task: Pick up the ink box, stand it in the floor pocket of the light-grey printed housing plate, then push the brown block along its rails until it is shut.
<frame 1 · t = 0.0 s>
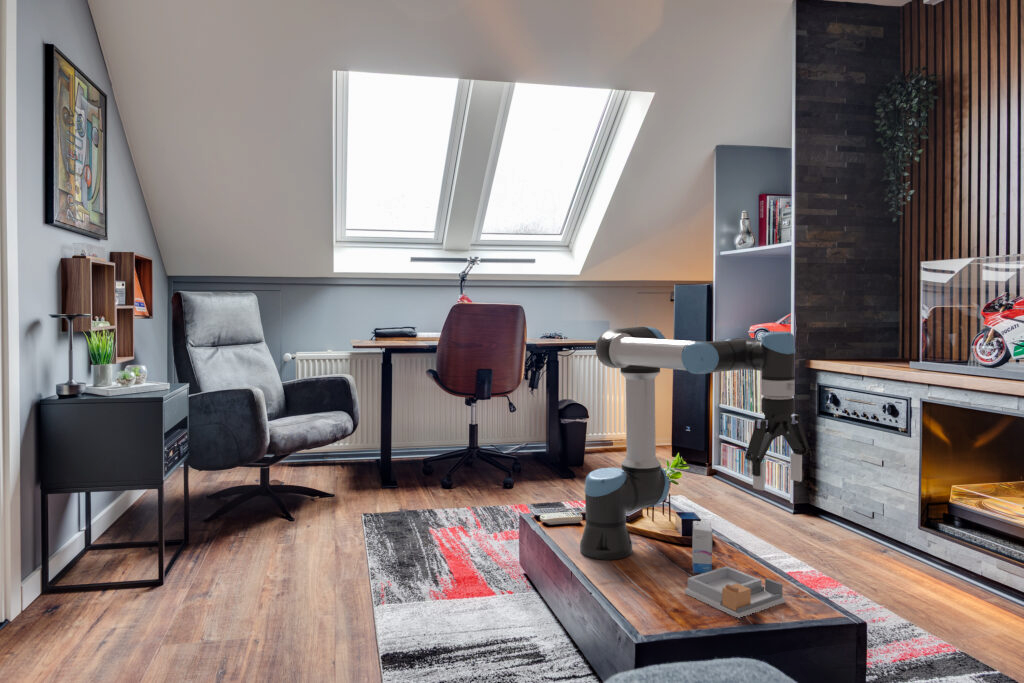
hand: (777, 484, 173), 28 cm above the table, fingers open, 13 cm apart
brown block: (736, 595, 168), point 4 cm above the table, slide at 0.0 cm
housing: (734, 597, 175), on the table
ink box: (702, 568, 195), on the table
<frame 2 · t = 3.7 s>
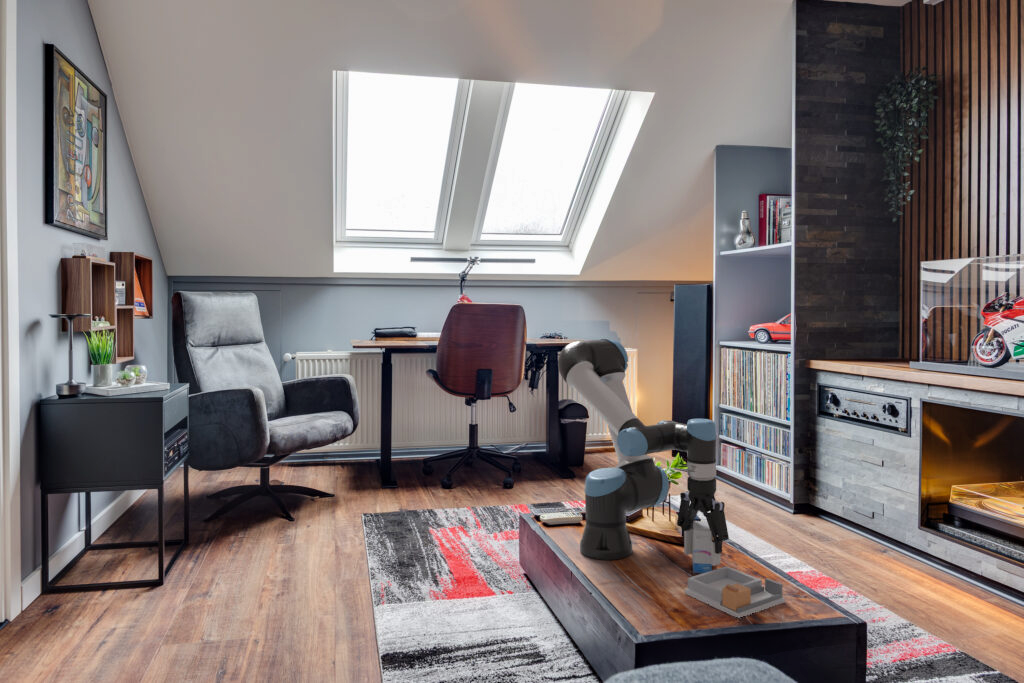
hand: (702, 558, 195), 3 cm above the table, fingers closed on ink box, 9 cm apart
ink box: (702, 568, 195), on the table, touching gripper
everything else where it was.
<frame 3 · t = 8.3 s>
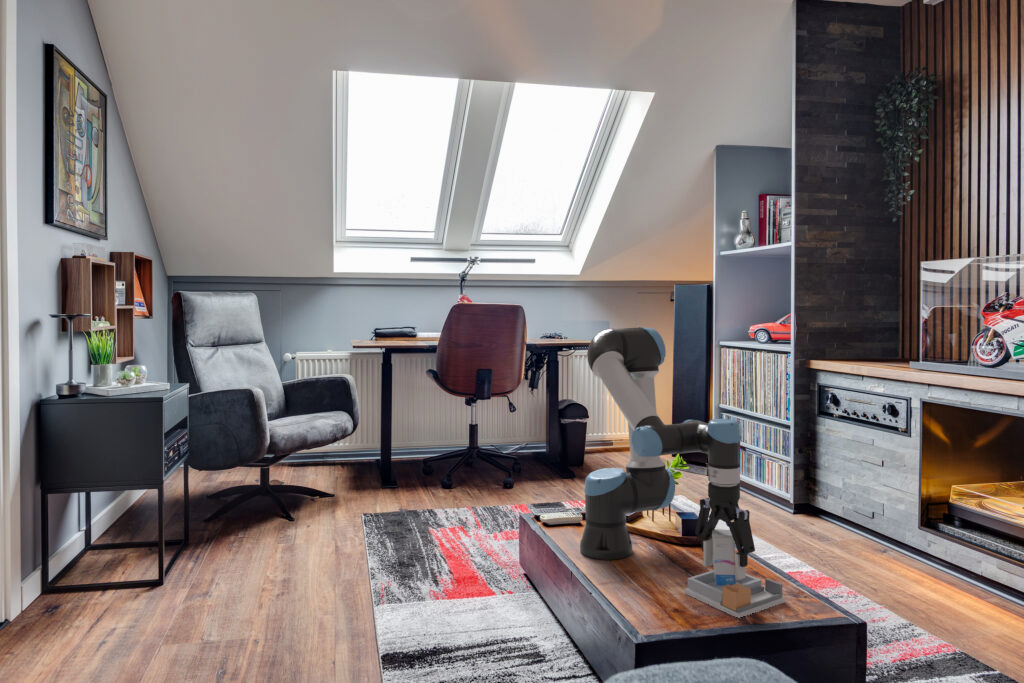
hand: (723, 571, 178), 5 cm above the table, fingers closed on ink box, 9 cm apart
ink box: (725, 581, 178), point 3 cm above the table, touching gripper, housing
everything else where it was.
when the fingers open (5 cm above the table, at t = 8.8 s): ink box stays where it is, resting on housing.
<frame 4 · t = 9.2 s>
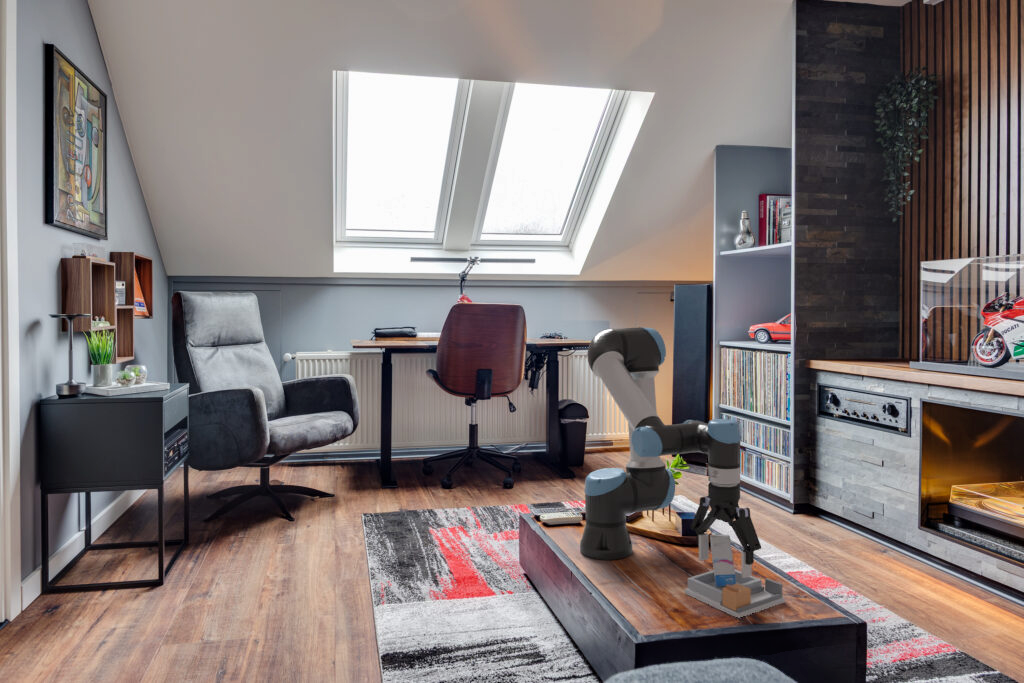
hand: (724, 567, 178), 7 cm above the table, fingers open, 13 cm apart
ink box: (726, 585, 177), point 2 cm above the table, touching housing
everything else where it was.
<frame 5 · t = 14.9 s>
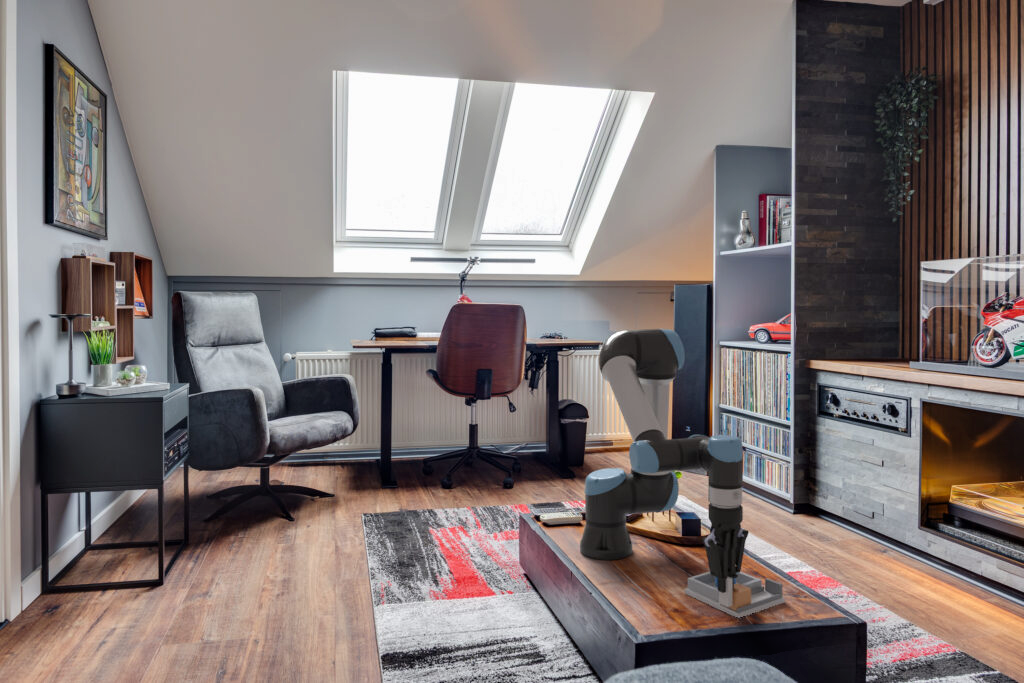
hand: (725, 604, 166), 3 cm above the table, fingers closed
brown block: (736, 595, 168), point 4 cm above the table, slide at 0.2 cm, touching gripper
everything else where it was.
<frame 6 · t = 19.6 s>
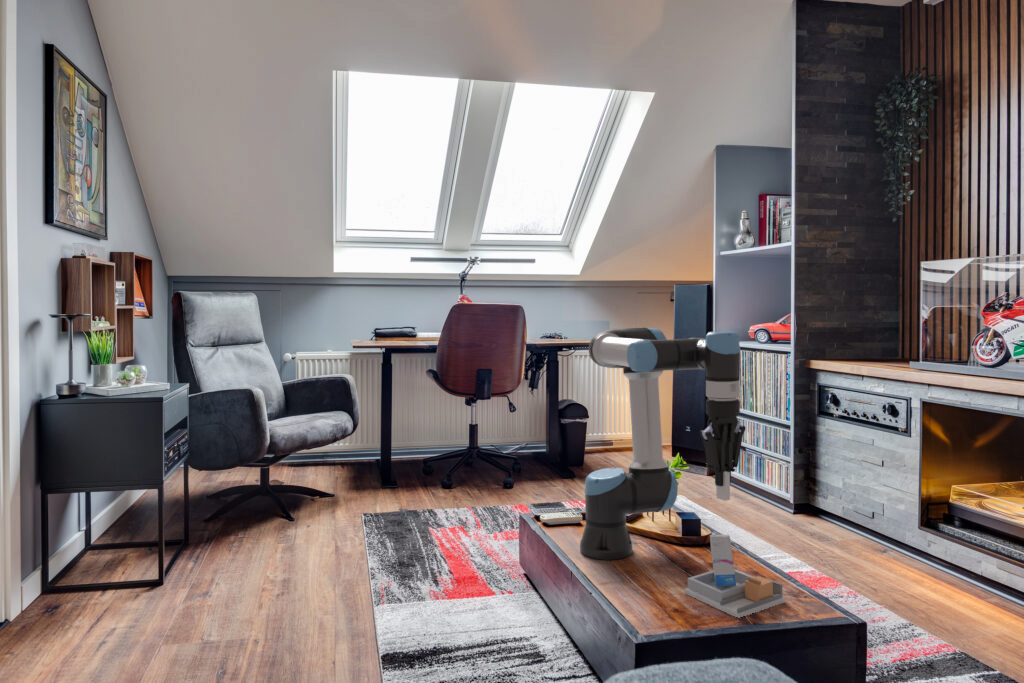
hand: (723, 498, 168), 26 cm above the table, fingers closed
brown block: (758, 587, 172), point 4 cm above the table, slide at 7.7 cm
everything else where it was.
at the end: ink box inside the target area on the housing (0.6 cm from its centre), point 2.3 cm above the housing's base; ink box tilted 16°; brown block slide at 7.7 cm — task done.
